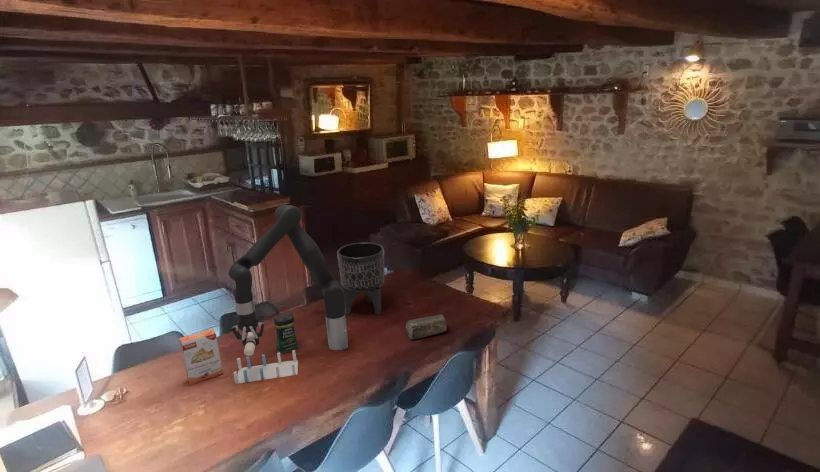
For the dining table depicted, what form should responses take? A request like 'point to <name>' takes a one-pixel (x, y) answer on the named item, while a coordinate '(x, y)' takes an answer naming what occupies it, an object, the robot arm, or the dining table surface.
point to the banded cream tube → (250, 344)
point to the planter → (362, 272)
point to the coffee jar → (285, 332)
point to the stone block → (425, 326)
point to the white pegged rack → (266, 369)
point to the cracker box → (201, 356)
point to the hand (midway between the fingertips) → (251, 345)
